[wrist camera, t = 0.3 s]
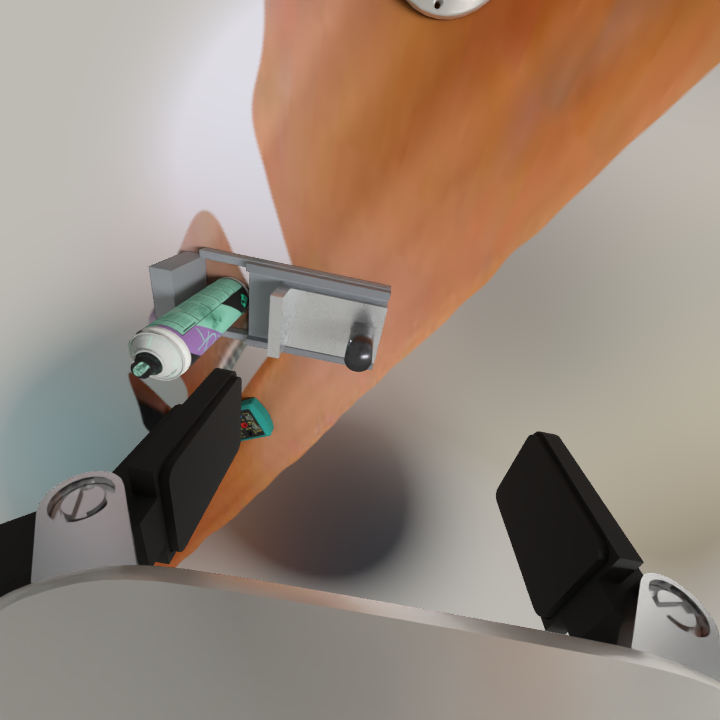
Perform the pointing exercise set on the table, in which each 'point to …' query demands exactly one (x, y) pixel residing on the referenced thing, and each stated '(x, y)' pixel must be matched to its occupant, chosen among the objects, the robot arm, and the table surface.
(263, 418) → the digital multimeter
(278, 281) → the vise frame
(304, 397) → the table surface
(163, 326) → the spray can
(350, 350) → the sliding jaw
